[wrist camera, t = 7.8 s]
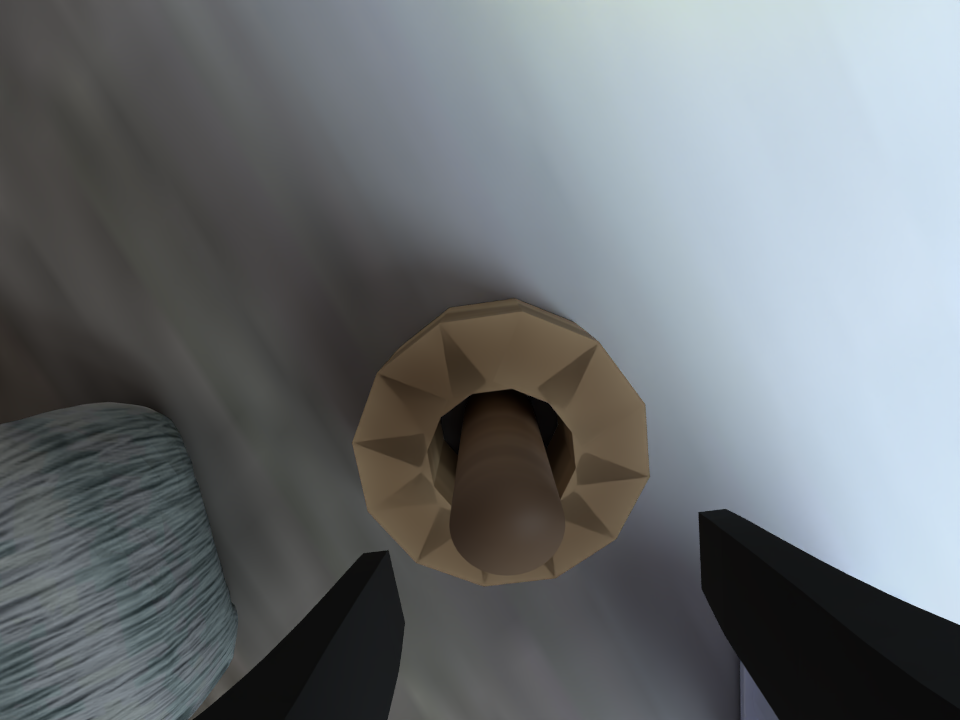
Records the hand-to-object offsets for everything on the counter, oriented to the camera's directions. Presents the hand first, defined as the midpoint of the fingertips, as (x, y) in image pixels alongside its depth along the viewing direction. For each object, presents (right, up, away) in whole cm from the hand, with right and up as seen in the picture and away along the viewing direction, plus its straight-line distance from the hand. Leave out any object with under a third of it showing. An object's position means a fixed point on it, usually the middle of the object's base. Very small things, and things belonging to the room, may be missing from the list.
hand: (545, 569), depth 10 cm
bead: (-1, +2, +9) cm, 9 cm away
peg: (-1, +2, +9) cm, 9 cm away
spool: (-16, -3, +11) cm, 20 cm away
